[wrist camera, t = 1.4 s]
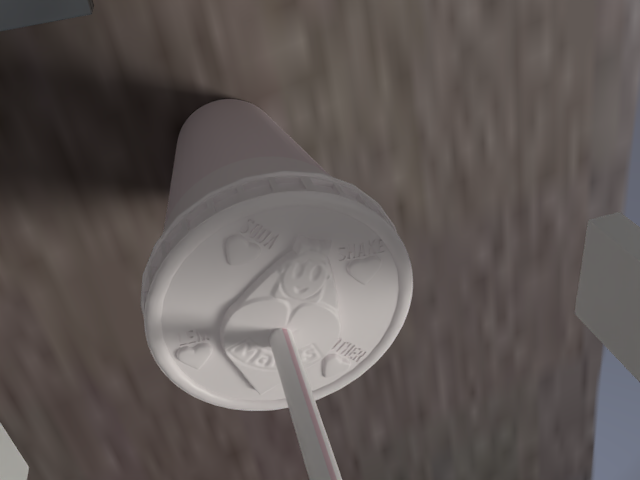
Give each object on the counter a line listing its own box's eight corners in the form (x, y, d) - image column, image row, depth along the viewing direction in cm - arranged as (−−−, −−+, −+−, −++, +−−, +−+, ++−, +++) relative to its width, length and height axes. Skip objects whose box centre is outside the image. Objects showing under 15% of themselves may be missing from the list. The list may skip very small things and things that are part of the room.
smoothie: (121, 210, 22) (112, 596, 10) (156, 35, 19) (198, 301, 8) (286, 237, 24) (425, 573, 13) (339, 85, 22) (576, 342, 10)
